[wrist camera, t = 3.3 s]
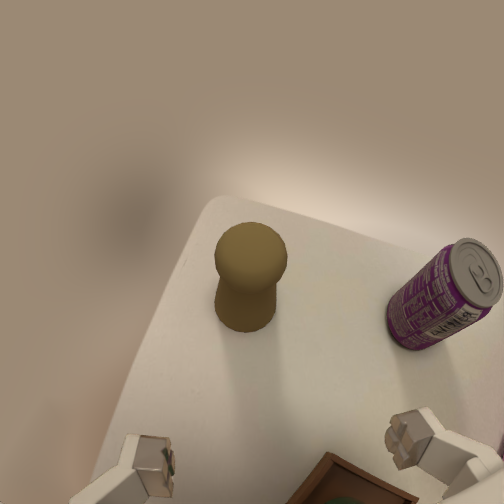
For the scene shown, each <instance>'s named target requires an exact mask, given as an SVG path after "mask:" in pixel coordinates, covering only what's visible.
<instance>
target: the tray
mask: <svg viewBox="0 0 504 504" xmlns="http://www.w3.org/2000/svg"><path fill="white" fill-rule="evenodd" d="M339 497H353V498H356V499H359V500H361V501H363V502H365V503H366V504H416V503H417V502H418V500H419V498H418V497H415V496H413V495H411V494H409V493H407V492H405V491H403V490H401V489H398V488H396V487H394V486H392V485H390V484H388V483H386V482H384V481H382V480H380V479H379V478H377V477H375V476H373V475H371V474H369V473H367V472H365V471H363V470H362V469H360V468H358V467H356V466H354V465H353V464H351V463H349V462H347V461H346V460H344V459H342V458H340V457H339V456H337V455H335V454H333V453H330V452H326V454H325V455H324V456H323V458H322V459H321V460H320V462H319V463H318V464H317V466H316V467H315V468H314V470H313V471H312V472H311V473H310V475H309V476H308V477H307V479H306V480H305V481H304V482H303V484H302V485H301V486H300V487H299V488H298V490H297V491H296V492H295V493H294V494H293V496H292V497H291V498H290V499H289V500H288V502H287V503H286V504H324V503H326V502H328V501H330V500H332V499H335V498H339Z"/></svg>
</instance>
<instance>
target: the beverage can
mask: <svg viewBox="0 0 504 504" xmlns="http://www.w3.org/2000/svg"><path fill="white" fill-rule="evenodd" d="M502 292H503V277H502V272H501V269H500V266H499V264H498V262H497V260H496V259H495V257H494V255H493V254H492V253H491V251H490V250H489V249H488V248H487V247H486V246H485V245H483V244H482V243H481V242H479V241H477V240H475V239H472V238H463V239H460V240H459V241H457V242H456V243H455V244H451V245H448V246H446V247H444V248H443V249H442V250H441V251H440V252H439V253H438V254H437V255H436V256H435V257H434V258H433V259H432V260H431V261H430V262H429V263H427V264H426V265H425V266H424V267H423V268H422V269H421V270H420V271H419V272H418V273H417V274H416V275H415V276H414V277H413V278H412V279H411V280H410V281H408V282H407V283H406V284H405V285H404V286H403V287H402V288H401V289H400V290H399V291H397V292H396V293H395V294H394V295H393V297H392V298H391V300H390V302H389V305H388V309H387V320H388V324H389V328H390V330H391V332H392V334H393V335H394V337H395V338H396V339H397V341H398V342H399V343H401V344H402V345H403V346H405V347H407V348H409V349H413V350H422V349H425V348H427V347H430V346H432V345H434V344H436V343H438V342H440V341H442V340H444V339H445V338H447V337H449V336H451V335H453V334H455V333H457V332H459V331H461V330H462V329H464V328H466V327H468V326H470V325H472V324H473V323H475V322H477V321H479V320H480V319H482V318H483V317H485V316H486V315H487V314H488V313H489V311H490V310H491V308H492V306H493V305H495V304H496V303H497V302H498V301H499V299H500V298H501V295H502Z"/></svg>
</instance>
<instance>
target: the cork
mask: <svg viewBox="0 0 504 504" xmlns="http://www.w3.org/2000/svg"><path fill="white" fill-rule="evenodd" d="M214 256H215V264H216V270H217V271H218V273H219V275H220V280H219V284H218V288H217V292H216V297H215V301H214V303H215V311H216V313H217V315H218V317H219V319H220V320H221V321H222V322H223V323H224V324H225V325H226V326H227V327H229V328H231V329H233V330H235V331H239V332H245V333H246V332H253V331H257V330H259V329H261V328H263V327H265V326H266V325H267V324H268V323H269V322H270V321H271V319H272V317H273V315H274V313H275V309H276V283H277V282H278V281H279V280H280V279H281V277H282V275H283V273H284V271H285V269H286V266H287V257H288V256H287V251H286V247H285V243H284V242H283V240H282V238H281V237H280V235H279V234H277V233H276V232H275V231H274V230H273V229H271V228H270V227H268V226H266V225H264V224H261V223H255V222H246V223H241V224H238V225H236V226H233V227H231V228H230V229H229V230H227V231H226V232H225V233H224V234H223V235H222V237H221V238H220V240H219V241H218V243H217V246H216V250H215V254H214Z"/></svg>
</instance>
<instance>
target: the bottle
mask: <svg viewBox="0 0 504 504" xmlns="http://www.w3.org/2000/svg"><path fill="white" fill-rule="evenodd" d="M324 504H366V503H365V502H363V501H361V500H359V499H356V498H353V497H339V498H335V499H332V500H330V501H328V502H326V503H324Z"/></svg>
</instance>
